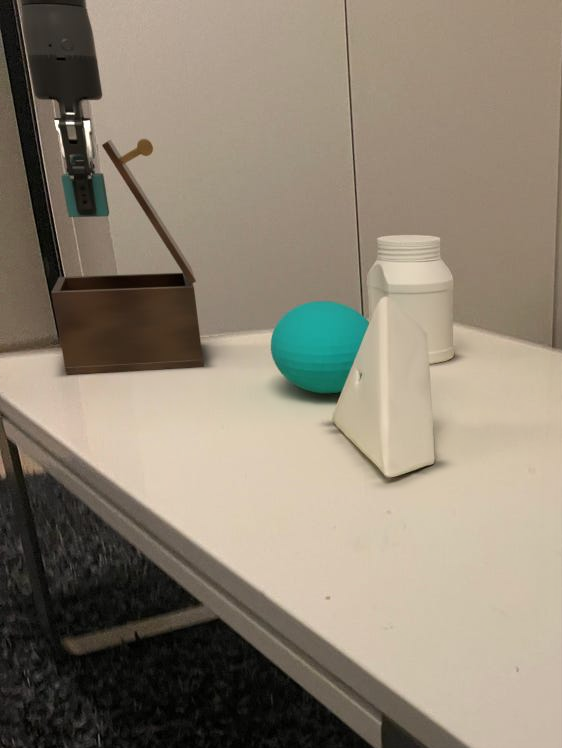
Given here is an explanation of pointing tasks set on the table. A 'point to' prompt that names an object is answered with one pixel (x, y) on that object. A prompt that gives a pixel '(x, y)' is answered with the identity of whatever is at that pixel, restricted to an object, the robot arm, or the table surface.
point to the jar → (416, 287)
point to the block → (98, 195)
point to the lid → (120, 163)
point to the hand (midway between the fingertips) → (88, 212)
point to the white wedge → (390, 394)
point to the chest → (127, 322)
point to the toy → (318, 345)
